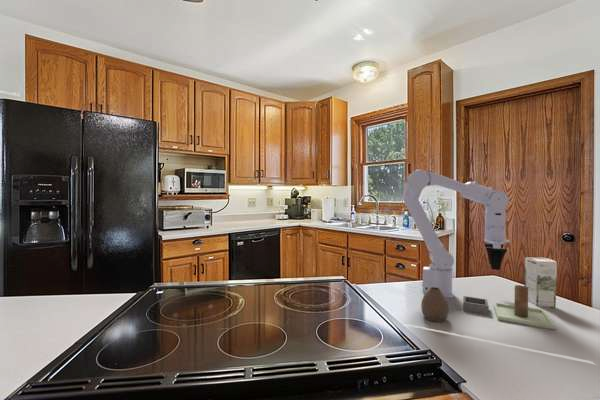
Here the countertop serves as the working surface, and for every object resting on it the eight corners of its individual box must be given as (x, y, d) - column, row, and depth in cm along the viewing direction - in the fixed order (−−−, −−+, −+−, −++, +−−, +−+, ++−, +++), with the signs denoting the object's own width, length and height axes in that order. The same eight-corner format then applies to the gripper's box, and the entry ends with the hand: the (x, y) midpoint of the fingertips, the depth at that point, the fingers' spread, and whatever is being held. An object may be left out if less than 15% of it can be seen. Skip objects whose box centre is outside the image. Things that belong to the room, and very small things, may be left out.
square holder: (463, 312, 86) (463, 302, 86) (463, 305, 91) (463, 295, 91) (488, 316, 83) (488, 306, 83) (486, 309, 88) (486, 299, 88)
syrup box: (542, 301, 95) (543, 256, 95) (556, 308, 89) (557, 260, 89) (523, 300, 95) (524, 256, 95) (536, 307, 89) (537, 260, 89)
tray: (497, 321, 79) (497, 315, 79) (493, 307, 90) (493, 302, 90) (555, 331, 73) (555, 325, 73) (543, 315, 84) (543, 309, 84)
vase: (452, 326, 76) (452, 293, 76) (424, 324, 78) (424, 291, 77) (444, 316, 83) (445, 285, 83) (418, 314, 84) (419, 283, 84)
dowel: (515, 316, 81) (515, 287, 81) (513, 312, 84) (513, 284, 83) (528, 318, 79) (529, 289, 79) (526, 314, 82) (527, 286, 82)
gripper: (512, 229, 89) (512, 273, 90) (506, 225, 102) (506, 263, 102) (485, 227, 93) (485, 270, 93) (482, 224, 105) (482, 261, 106)
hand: (494, 267), depth 98 cm, fingers open, 7 cm apart
